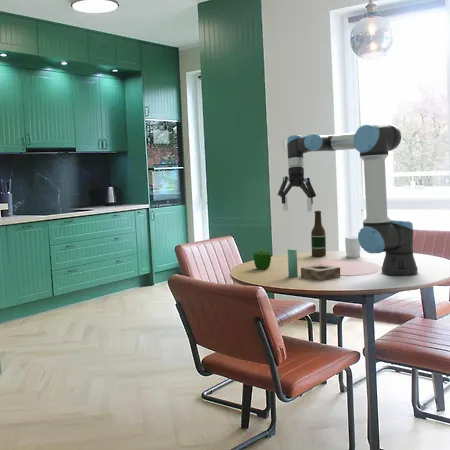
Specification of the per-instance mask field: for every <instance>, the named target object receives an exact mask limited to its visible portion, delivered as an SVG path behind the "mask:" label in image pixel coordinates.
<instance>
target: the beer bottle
mask: <svg viewBox="0 0 450 450" xmlns="http://www.w3.org/2000/svg"><path fill="white" fill-rule="evenodd" d="M310 234H311V236H310V238H311V241H310V242H311V256H312V257H314V258H323V257H326V255H327V245H326V244H327V241H326V237H327V236H326V235H327V234H326V230H325V228H324V226H323V224H322V211H321V210H315V211H314V224H313V227H312V229H311V233H310Z"/></svg>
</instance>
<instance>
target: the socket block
mask: <svg viewBox="0 0 450 450" xmlns="http://www.w3.org/2000/svg"><path fill="white" fill-rule="evenodd" d="M300 277H301V278H305V279H310V280H315V281H320V282H321V281H325V280H329V279H335V278H340V277H341V267H339V266H334V265H329V264H322V263H321V264H315V265H309V266H303V267H300Z"/></svg>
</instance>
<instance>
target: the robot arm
mask: <svg viewBox="0 0 450 450" xmlns="http://www.w3.org/2000/svg"><path fill="white" fill-rule="evenodd" d="M401 141H402V132H401V131H400V129H399V128H398V127H397V125H394V124H391V123H364V124H362V125H361V126H359V127H357V130H356V131H355V132H349V133H340V134H338V133H337V134H329V135H328V134H327V135H326V134H325V135H321V134H320V135H319V134H318V133H310V134H308V135H306V136H302V135H299V134H294V135H289V136H288V137H287V143H286V147H287V148H286V149H287V167H288V169H287V172H288V176H287V175H286V176H284V177H282V183H281V185H280V188H279V190H278V192H277V196H279V197H280V198H281V204H282V211H283V212H285V211H288V208H289V207H288V196H287V194H288V193H289V192H290V190H291V189H292V188H293V187H296V188H300V189H301V190H302V192H303V193H304V194H305V195H306V197H307V198H306V207H307V208H306V211H307V213H310V212H313V211H312V210H313V209H312V208H313V206H312V205H314V204H313V203H314V199H313V198H315V197H317V194H316V192H315V190H314V188H313V186H312V183H311V179H310V177H307V178H306V177H305V170H304V169H305V168H304V166H305V165H304V164H305V161H304V154H306V153H310V152H334V151H345V150H346V151H347V150H356V151H358V152H359V158H360V159H361V160H362V161H363V171H364V172H363V173H364V175H363V176H364V193H365V211H366V212H365V215H366V218H365V219H364V220H363V222H362V224H363V226H362V228H360V229H359V232H358V234H357V237H358V241H359V244H360V248H361V249H363V251H364V252H366V253H368V254H381V253H385V255H384V260H383V262H382V266H381V273H382V274H384V275H387V276H400V277H401V276H414V275H417V274H418V272H419V271H418V270H419V268H418V266H417V263H416V260H415V256H414V225H413V222H412V221H409V220H395V219H394V220H392V219H390V218H389V216H388V202H387V201H388V200H387V179H386V158H388V156H389V152H391V151H394V150H395V149H396V148H398V147H399V145H400V144H401ZM288 182H289V183H288ZM287 184H288V185H287ZM286 186H287V187H286Z"/></svg>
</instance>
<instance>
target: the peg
mask: <svg viewBox="0 0 450 450" xmlns="http://www.w3.org/2000/svg"><path fill="white" fill-rule="evenodd" d="M287 266H288V267H287V268H288V271H287V272H288V278H298V276H299V275H298V270H299V269H298V250H297V248H290V249H287Z"/></svg>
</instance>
